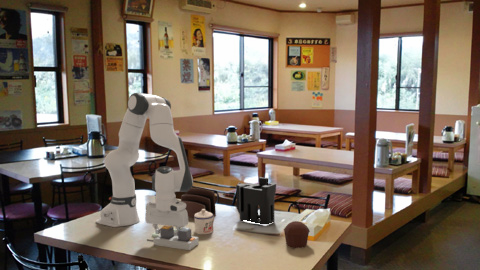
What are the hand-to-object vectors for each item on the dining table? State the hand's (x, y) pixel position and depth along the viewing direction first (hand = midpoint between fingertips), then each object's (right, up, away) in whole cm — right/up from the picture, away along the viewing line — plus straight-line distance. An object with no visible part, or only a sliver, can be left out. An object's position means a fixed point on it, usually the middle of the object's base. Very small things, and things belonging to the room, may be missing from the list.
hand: (167, 234), depth 193 cm
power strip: (+2, -5, 0) cm, 5 cm away
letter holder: (+8, 0, +44) cm, 45 cm away
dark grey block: (+8, -4, -3) cm, 10 cm away
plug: (0, -4, +1) cm, 4 cm away
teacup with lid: (+16, -3, +17) cm, 23 cm away
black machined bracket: (+41, -1, +32) cm, 52 cm away
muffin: (+57, -4, -2) cm, 57 cm away
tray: (-2, -4, +12) cm, 13 cm away
